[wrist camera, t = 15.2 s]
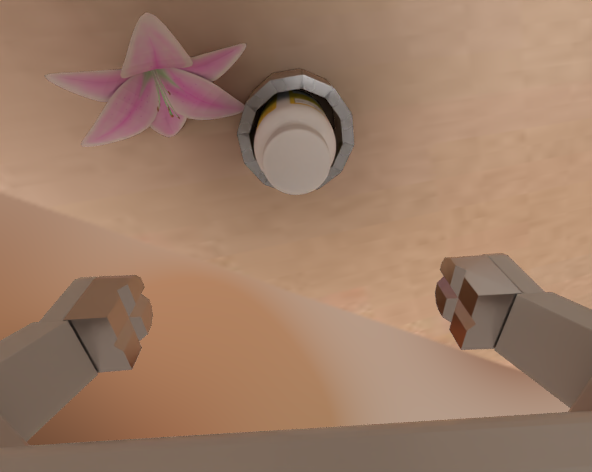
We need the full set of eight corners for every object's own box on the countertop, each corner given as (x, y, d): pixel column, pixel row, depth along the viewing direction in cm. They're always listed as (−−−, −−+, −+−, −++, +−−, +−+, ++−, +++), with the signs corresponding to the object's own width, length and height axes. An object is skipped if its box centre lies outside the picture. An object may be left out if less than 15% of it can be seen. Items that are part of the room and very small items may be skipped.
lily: (93, 120, 28) (93, 205, 23) (13, -64, 18) (-17, 13, 13) (235, 107, 31) (262, 179, 26) (230, -53, 22) (271, 11, 17)
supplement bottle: (269, 162, 29) (263, 214, 21) (251, 97, 26) (235, 127, 18) (330, 147, 29) (349, 195, 20) (318, 80, 26) (334, 103, 17)
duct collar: (233, 152, 28) (225, 171, 25) (263, 52, 25) (259, 55, 21) (320, 183, 30) (325, 205, 26) (360, 94, 26) (373, 104, 22)
